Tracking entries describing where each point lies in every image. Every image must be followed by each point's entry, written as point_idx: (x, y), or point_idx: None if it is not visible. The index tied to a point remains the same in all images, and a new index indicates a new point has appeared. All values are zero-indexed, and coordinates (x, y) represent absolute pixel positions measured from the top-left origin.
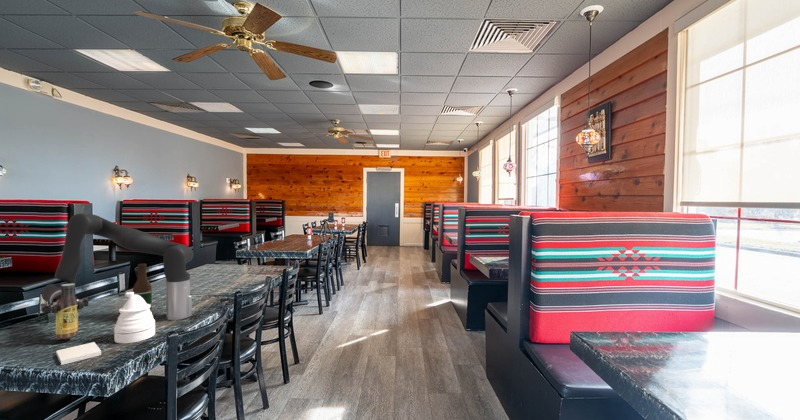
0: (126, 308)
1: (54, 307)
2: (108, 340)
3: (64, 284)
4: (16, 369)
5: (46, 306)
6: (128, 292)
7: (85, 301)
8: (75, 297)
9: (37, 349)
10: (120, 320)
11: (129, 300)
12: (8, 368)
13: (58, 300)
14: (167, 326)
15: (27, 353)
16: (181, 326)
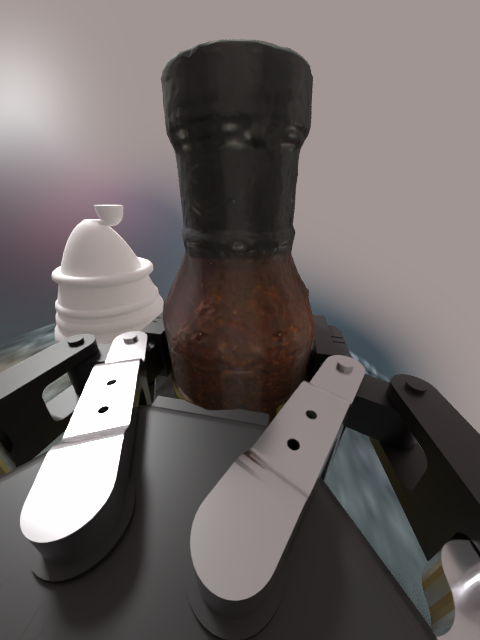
0: (137, 259)
1: (323, 323)
2: (169, 375)
3: (267, 57)
4: (363, 360)
5: (402, 376)
6: (105, 205)
7: (95, 345)
8: (175, 280)
9: (349, 485)
10: (158, 294)
11: (118, 235)
12: (384, 376)
13: (305, 288)
14: (25, 358)
15: (376, 463)
16: (33, 337)
